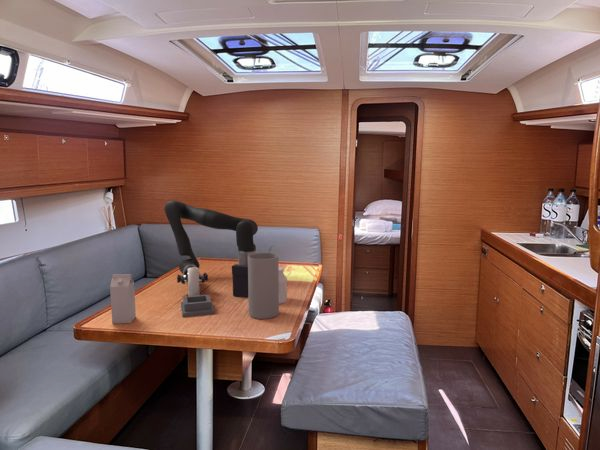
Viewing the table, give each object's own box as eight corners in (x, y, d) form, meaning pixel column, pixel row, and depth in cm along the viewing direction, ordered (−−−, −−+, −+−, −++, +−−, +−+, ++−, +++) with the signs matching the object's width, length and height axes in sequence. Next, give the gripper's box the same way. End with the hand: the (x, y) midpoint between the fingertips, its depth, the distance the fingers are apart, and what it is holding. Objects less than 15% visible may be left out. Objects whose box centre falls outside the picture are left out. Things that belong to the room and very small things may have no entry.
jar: (260, 303, 197) (259, 270, 195) (263, 296, 207) (263, 265, 205) (285, 304, 196) (285, 271, 194) (288, 297, 206) (288, 266, 204)
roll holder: (210, 302, 198) (210, 292, 198) (214, 313, 183) (214, 303, 183) (180, 305, 195) (180, 295, 194) (182, 317, 179) (182, 306, 179)
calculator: (257, 296, 207) (256, 265, 205) (253, 298, 203) (252, 267, 201) (236, 294, 211) (235, 263, 209) (232, 296, 207) (231, 265, 205)
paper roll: (199, 295, 208) (198, 267, 206) (200, 298, 203) (199, 269, 201) (188, 296, 207) (187, 267, 205) (189, 299, 202) (187, 270, 200)
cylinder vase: (281, 318, 178) (281, 258, 175) (251, 321, 175) (250, 260, 171) (274, 308, 190) (274, 252, 187) (246, 311, 187) (245, 253, 183)
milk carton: (118, 317, 179) (115, 272, 176) (135, 317, 179) (133, 272, 177) (112, 323, 172) (109, 276, 169) (130, 323, 172) (128, 276, 170)
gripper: (176, 266, 216) (177, 274, 200) (205, 264, 220) (208, 272, 205) (176, 281, 217) (177, 290, 201) (205, 279, 221) (209, 288, 206)
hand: (193, 281), depth 203 cm, fingers open, 8 cm apart
